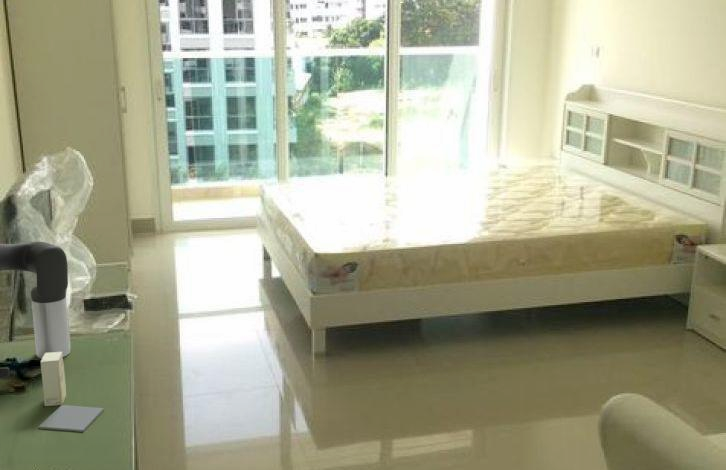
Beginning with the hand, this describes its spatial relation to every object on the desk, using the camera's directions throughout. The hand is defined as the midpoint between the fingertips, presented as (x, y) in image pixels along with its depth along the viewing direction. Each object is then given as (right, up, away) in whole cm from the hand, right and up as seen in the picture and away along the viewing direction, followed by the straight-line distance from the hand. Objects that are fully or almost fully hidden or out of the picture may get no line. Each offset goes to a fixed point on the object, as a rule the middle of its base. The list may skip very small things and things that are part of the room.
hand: (3, 378), depth 187 cm
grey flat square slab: (+19, -9, -5) cm, 22 cm away
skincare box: (+11, -7, +4) cm, 14 cm away
